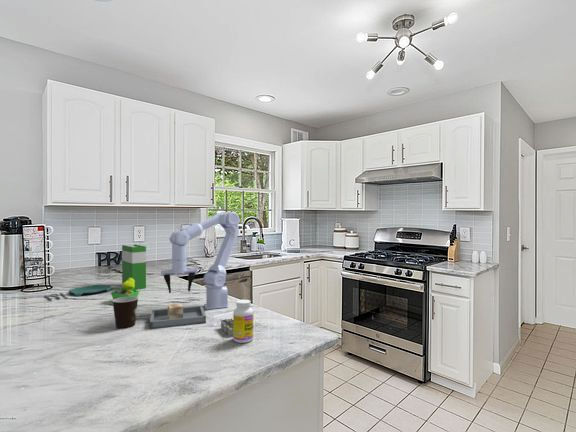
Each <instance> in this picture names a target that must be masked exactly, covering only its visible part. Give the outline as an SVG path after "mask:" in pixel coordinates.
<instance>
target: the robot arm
mask: <svg viewBox="0 0 576 432" xmlns="http://www.w3.org/2000/svg"><path fill="white" fill-rule="evenodd" d="M240 221H241V219H240V217H239V214H238V213H237V212H235V211H230V212H229V211H220V212H219V213H216V214H214V215H212V216H211V217H209V218H207V219H205V220H204V221H201V222H200V223H198V222H191V223H189V225H188V226H186V227H181V228H180V230H179V231H178V230H177V231H174V232H172V233H171V234H170V237H169V239H168V240H169V241H170V243H171V260H172V262H171V266H172V267H171V269H166V270H161V271H160V276H161V277H163V279H164V281H165V283H166V285H167V289H168V294H172V288H171V276H178V275H179V276H180V275H187V276H188V277H187V279H188V280H187V281H188V282H187V283H188V284H187V291H188V292H191V287H192V284H193V282H194V279H195V277H196V275H197V274H198V268H187V244H188V243H189V241H191V240H193V239H195V238H197V237H198V236H200V235H202V234H203V231H204V230H206V229H209V228H211V227H213V226H215V225H218V224H219V225H220V226H221V228H223V229H224V232H225V236H224V238H223V240H222V243H221V245H220V247H219V250H218V252H217V254H216V257H215V260H214V262H213V264H212V265H211V266H209V268H208V270H207V272H206V273H205V274H204V275H203V282H204V284H206V286H205V288H206V289H205V291H206V292H205V293H206V294H205V295H206V297H205V298H206V299H205V301H206V303H204V306H205V309H206V310H213V309H223V308H228V307H229V306H228V305H229V303H228V301H229V299H228V298H229V297H228V294H229V291H228V287H227V286H224V285H225V283H226V276H227V271H226V266H227V263H228V261H229V260H230V256H231V253H232V251H233V249H234V246H235V243H236V242H237V241H236V240H237V238H238V236H239V225H240Z"/></svg>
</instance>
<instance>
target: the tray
mask: <svg viewBox="0 0 576 432" xmlns="http://www.w3.org/2000/svg"><path fill="white" fill-rule="evenodd" d="M206 323H207V316H206V313H205V309H204V307H203V305H195V306H193V305H192V306H183V318H177V319H168V308H162V309H152V310H151V314H150V319H149V329H150V330H153V329H160V328H161V329H162V328H171V327H181V326H188V325H190V326H191V325H198V324H206Z"/></svg>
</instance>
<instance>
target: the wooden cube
mask: <svg viewBox="0 0 576 432" xmlns="http://www.w3.org/2000/svg"><path fill="white" fill-rule="evenodd" d="M183 307H184V306H183V304H182V303H174V304H168V305H167V309H168V319H177V318H183Z"/></svg>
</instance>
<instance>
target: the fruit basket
mask: <svg viewBox="0 0 576 432" xmlns="http://www.w3.org/2000/svg"><path fill="white" fill-rule="evenodd" d="M134 283H135V280H134V279H133V278H128V279H127V281H125V282H124V283H123V284H121V285H122V288H123V289H122V288H119V289H117V290H114V291H111V292H110V295H111V296H112V301H113V300H114V299H116V298H121V297H138V296H139V294H140V290H133V289H134V287H135V284H134ZM138 298H139V297H138Z"/></svg>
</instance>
